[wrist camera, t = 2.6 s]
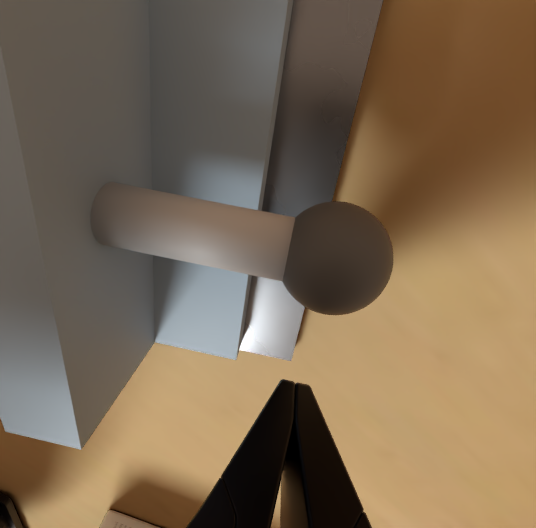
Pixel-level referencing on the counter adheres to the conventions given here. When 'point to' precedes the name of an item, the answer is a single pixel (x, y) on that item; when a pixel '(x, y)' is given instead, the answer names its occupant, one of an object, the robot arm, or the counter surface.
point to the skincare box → (122, 521)
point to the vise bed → (308, 141)
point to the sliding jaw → (147, 198)
